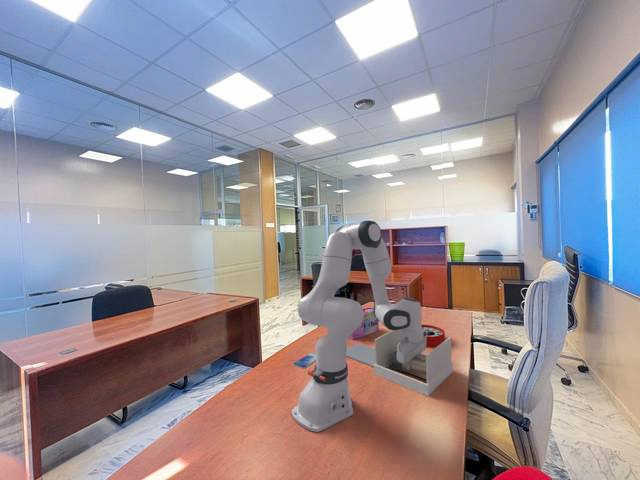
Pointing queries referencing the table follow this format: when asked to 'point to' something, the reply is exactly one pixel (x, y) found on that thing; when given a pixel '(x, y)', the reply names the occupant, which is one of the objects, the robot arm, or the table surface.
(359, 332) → the gum box
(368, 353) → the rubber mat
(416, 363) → the block
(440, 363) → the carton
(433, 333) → the toy clock
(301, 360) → the smartphone
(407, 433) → the table surface
